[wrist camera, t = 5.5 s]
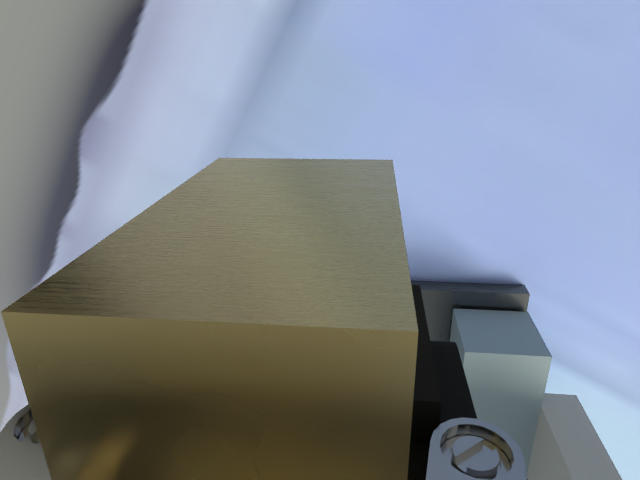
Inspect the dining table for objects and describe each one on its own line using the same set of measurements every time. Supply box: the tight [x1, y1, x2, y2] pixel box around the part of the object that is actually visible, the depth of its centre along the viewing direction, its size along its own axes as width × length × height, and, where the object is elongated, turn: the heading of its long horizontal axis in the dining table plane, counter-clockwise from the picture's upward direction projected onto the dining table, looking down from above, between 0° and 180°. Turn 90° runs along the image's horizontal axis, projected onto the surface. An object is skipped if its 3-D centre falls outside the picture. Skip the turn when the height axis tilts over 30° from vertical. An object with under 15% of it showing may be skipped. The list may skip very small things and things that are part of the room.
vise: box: [411, 281, 530, 341], centre depth 28 cm, size 14×20×5 cm
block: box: [1, 158, 418, 480], centre depth 9 cm, size 8×4×7 cm, turn 1°
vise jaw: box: [450, 309, 622, 480], centre depth 24 cm, size 12×6×9 cm, turn 1°
